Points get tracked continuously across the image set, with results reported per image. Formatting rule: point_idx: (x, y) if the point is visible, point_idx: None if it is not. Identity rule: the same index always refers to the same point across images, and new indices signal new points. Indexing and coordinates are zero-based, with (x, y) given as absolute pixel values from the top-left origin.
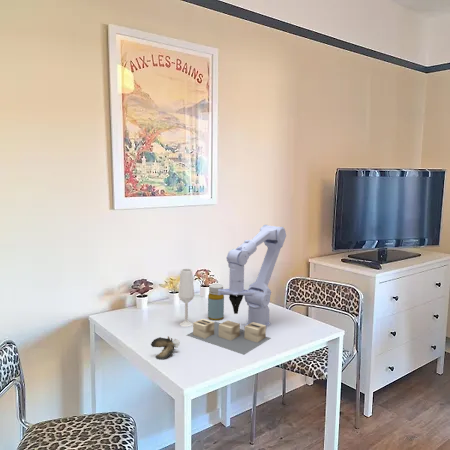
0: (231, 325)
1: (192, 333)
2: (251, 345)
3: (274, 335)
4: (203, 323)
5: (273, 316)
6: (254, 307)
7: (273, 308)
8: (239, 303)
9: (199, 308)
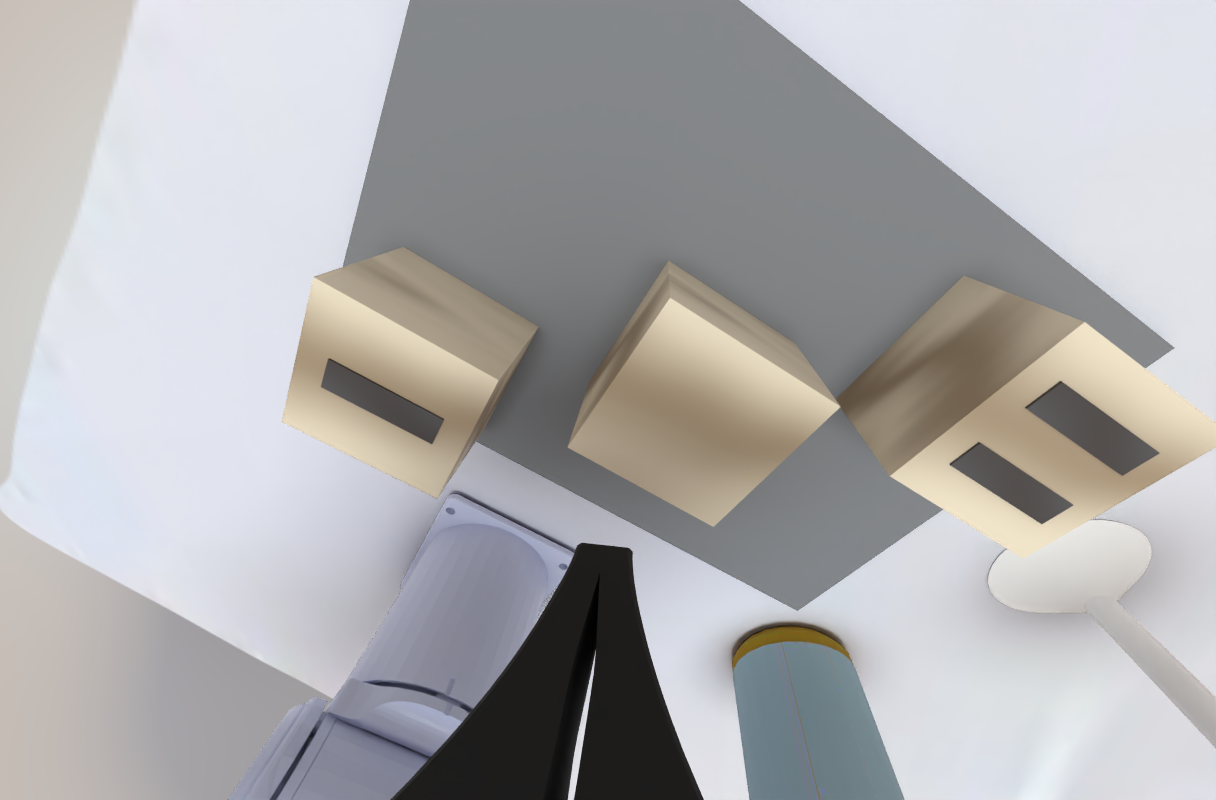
0: (666, 391)
1: None
2: (439, 154)
3: None
4: (1071, 421)
5: None
6: (416, 700)
7: None
8: (469, 730)
9: None
